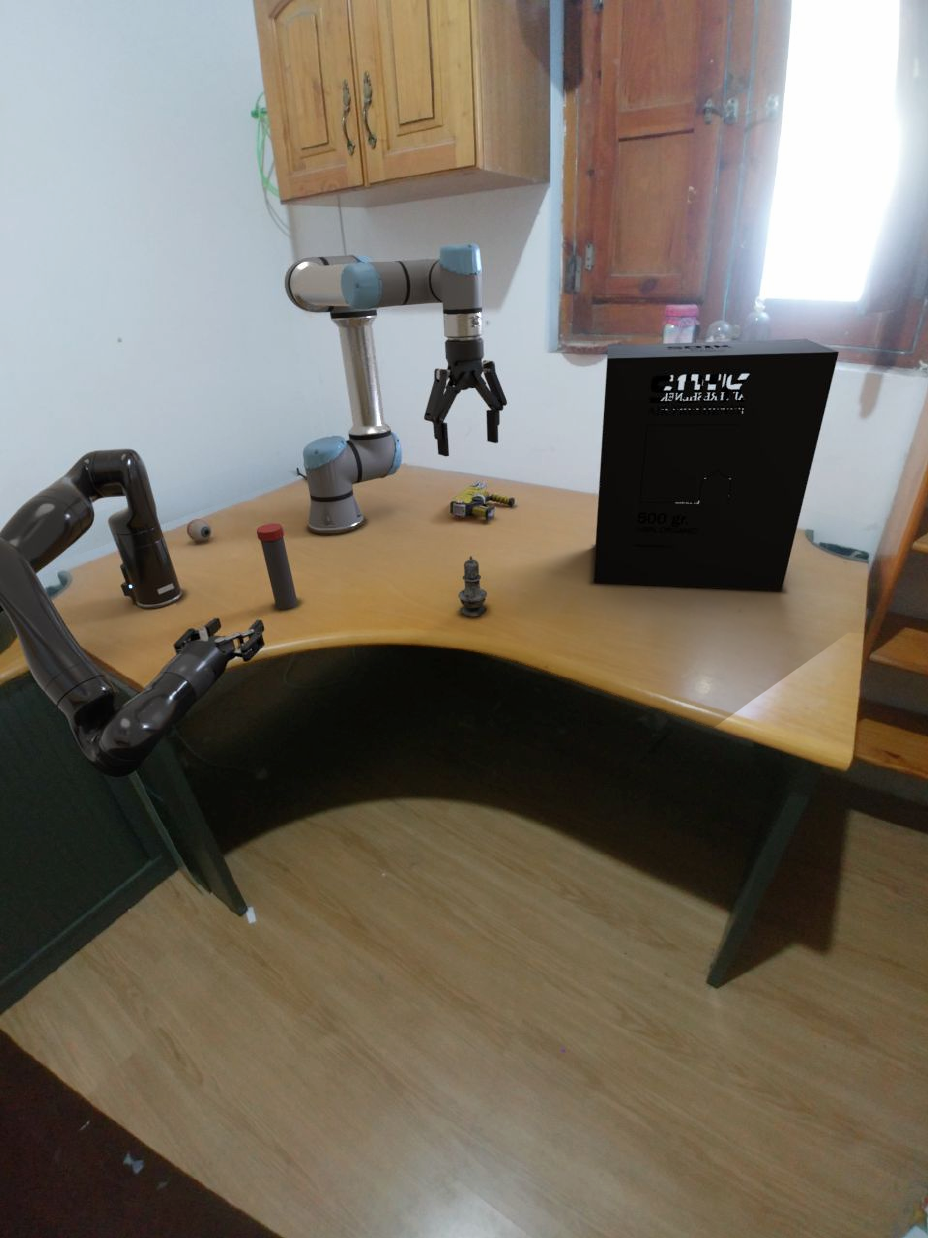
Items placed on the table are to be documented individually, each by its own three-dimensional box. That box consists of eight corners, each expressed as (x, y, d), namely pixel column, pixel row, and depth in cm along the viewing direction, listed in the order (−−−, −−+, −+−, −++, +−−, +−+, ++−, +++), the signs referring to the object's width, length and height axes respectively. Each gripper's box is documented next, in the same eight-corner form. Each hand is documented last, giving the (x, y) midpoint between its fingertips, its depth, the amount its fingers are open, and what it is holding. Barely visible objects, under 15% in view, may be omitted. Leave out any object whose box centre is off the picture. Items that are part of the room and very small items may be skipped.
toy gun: (523, 485, 181) (476, 478, 185) (501, 509, 161) (448, 500, 165) (521, 500, 184) (475, 493, 187) (499, 525, 163) (447, 517, 167)
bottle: (278, 600, 131) (261, 526, 123) (299, 599, 131) (283, 525, 123) (274, 610, 127) (256, 535, 119) (295, 609, 128) (279, 533, 119)
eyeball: (200, 546, 160) (194, 525, 157) (185, 542, 163) (179, 521, 160) (219, 538, 165) (213, 517, 162) (204, 535, 168) (198, 514, 165)
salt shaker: (485, 617, 120) (483, 562, 114) (456, 616, 121) (452, 561, 115) (490, 603, 125) (488, 550, 119) (462, 602, 126) (459, 549, 120)
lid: (261, 532, 124) (259, 524, 123) (286, 531, 124) (284, 522, 123) (255, 542, 119) (253, 533, 118) (281, 540, 120) (279, 531, 119)
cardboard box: (760, 550, 140) (805, 338, 118) (781, 591, 123) (838, 351, 101) (595, 545, 148) (608, 345, 125) (593, 582, 131) (607, 358, 108)
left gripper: (158, 689, 101) (210, 638, 115) (236, 695, 98) (279, 641, 112) (144, 652, 97) (199, 603, 111) (225, 657, 95) (271, 606, 108)
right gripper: (423, 346, 107) (432, 464, 118) (523, 331, 121) (523, 439, 131) (399, 343, 112) (410, 457, 123) (498, 330, 126) (500, 434, 136)
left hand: (239, 622), depth 111 cm, fingers open, 8 cm apart
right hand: (468, 448), depth 127 cm, fingers open, 13 cm apart
